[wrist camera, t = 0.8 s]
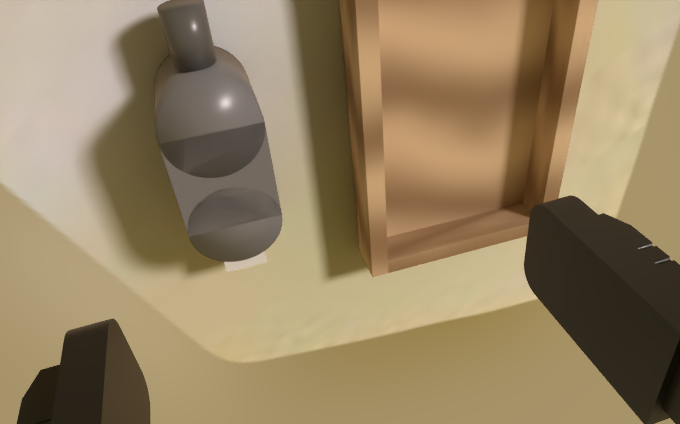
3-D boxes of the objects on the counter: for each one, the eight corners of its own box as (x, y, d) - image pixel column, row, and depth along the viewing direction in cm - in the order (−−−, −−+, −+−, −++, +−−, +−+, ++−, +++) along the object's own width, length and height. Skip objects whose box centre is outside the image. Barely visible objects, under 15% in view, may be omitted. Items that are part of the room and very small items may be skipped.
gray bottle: (124, -2, 23) (121, 33, 20) (229, -19, 24) (243, 11, 20) (201, 245, 32) (209, 299, 28) (277, 227, 32) (293, 277, 29)
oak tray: (330, -111, 23) (348, -102, 21) (587, -147, 25) (626, -142, 23) (359, 249, 35) (372, 277, 33) (529, 206, 37) (551, 229, 35)
